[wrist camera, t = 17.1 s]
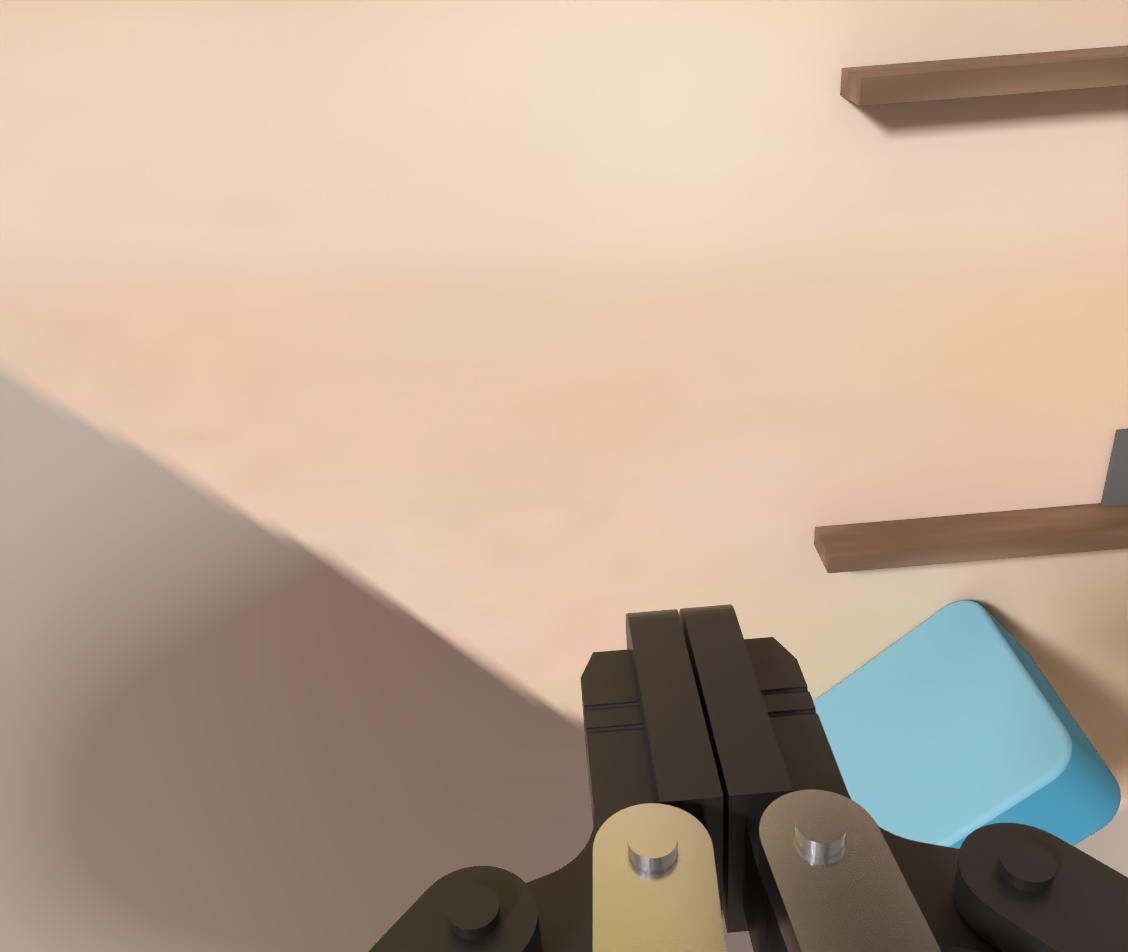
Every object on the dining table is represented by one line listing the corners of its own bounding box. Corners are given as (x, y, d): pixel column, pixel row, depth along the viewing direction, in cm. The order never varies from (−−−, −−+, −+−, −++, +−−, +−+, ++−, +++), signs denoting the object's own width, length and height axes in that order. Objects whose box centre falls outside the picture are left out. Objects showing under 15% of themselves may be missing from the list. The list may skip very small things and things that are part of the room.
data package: (835, 761, 58) (908, 949, 48) (785, 719, 57) (848, 905, 46) (1016, 635, 55) (1138, 809, 44) (968, 586, 53) (1082, 755, 43)
